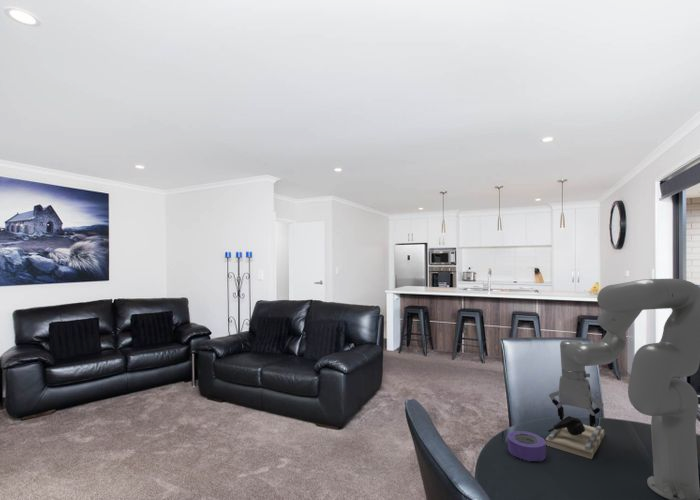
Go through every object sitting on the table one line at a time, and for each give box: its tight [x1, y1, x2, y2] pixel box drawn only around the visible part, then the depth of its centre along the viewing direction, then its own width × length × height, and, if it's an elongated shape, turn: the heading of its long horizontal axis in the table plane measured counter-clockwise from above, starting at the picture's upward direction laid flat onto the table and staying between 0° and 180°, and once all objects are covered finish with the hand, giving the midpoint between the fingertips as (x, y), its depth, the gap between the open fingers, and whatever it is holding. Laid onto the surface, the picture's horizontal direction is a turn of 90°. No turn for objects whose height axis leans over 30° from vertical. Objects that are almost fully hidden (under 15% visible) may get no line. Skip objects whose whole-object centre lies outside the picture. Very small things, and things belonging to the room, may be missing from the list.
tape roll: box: [507, 430, 547, 462], centre depth 124 cm, size 12×12×5 cm
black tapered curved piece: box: [547, 415, 585, 439], centre depth 131 cm, size 6×8×12 cm
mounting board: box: [544, 424, 606, 460], centre depth 133 cm, size 24×14×3 cm, turn 136°
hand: (576, 422), depth 132 cm, fingers open, 9 cm apart
